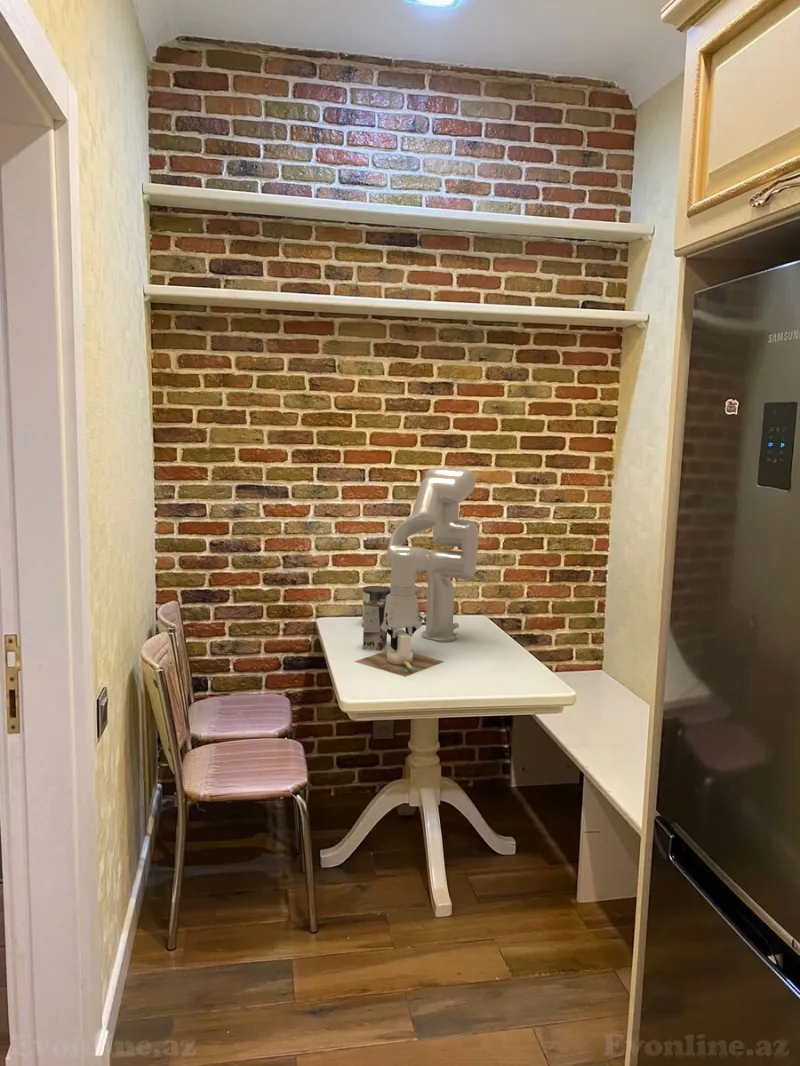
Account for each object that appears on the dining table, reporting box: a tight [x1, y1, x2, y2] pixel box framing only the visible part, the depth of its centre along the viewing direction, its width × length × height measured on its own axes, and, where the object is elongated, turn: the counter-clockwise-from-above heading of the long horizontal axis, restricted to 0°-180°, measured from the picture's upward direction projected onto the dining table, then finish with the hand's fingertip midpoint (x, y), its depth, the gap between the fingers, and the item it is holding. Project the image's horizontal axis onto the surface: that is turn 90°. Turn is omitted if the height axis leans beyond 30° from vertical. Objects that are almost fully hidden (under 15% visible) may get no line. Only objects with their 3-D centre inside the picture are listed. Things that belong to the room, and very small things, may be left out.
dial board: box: [354, 650, 445, 678], centre depth 234 cm, size 20×20×2 cm
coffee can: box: [361, 585, 391, 628], centre depth 279 cm, size 10×10×14 cm
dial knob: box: [386, 628, 414, 669], centre depth 231 cm, size 16×8×9 cm, turn 17°
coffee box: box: [362, 600, 388, 652], centre depth 248 cm, size 9×6×16 cm
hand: (400, 648), depth 233 cm, fingers closed on dial knob, 3 cm apart
